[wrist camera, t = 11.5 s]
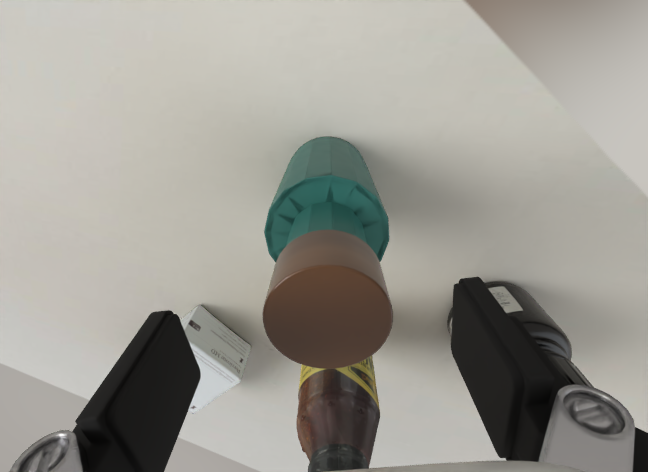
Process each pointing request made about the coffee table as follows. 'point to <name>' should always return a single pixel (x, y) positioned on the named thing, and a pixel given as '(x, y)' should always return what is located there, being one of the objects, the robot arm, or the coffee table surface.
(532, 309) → the ink bottle
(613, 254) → the coffee table surface
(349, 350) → the stopper
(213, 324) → the small box
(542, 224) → the coffee table surface
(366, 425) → the sauce bottle
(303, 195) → the bottle
